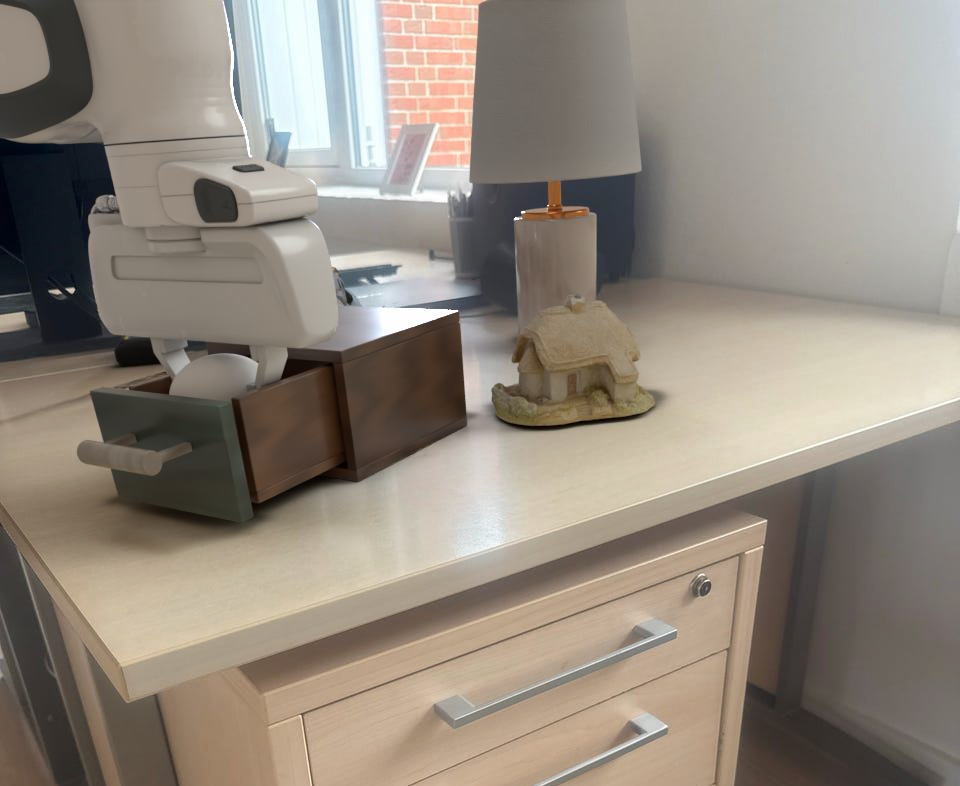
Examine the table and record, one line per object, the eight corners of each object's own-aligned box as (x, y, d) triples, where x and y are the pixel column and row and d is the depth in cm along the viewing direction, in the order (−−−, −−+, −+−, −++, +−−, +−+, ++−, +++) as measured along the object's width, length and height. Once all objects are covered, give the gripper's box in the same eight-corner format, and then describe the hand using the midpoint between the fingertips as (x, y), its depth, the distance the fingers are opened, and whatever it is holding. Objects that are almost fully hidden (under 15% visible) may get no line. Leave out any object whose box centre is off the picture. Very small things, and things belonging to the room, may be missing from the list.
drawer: (193, 547, 58) (165, 425, 54) (68, 518, 64) (34, 406, 60) (373, 457, 72) (360, 355, 68) (256, 441, 78) (238, 346, 74)
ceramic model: (604, 386, 90) (604, 278, 85) (674, 410, 81) (680, 291, 76) (478, 411, 85) (470, 299, 80) (538, 440, 76) (534, 315, 71)
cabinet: (358, 481, 70) (340, 351, 65) (229, 461, 76) (204, 341, 71) (467, 425, 81) (459, 310, 76) (347, 411, 88) (332, 305, 83)
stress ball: (273, 460, 71) (246, 381, 72) (300, 419, 64) (270, 332, 65) (177, 478, 68) (149, 395, 68) (195, 437, 61) (164, 345, 61)
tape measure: (117, 375, 109) (109, 343, 107) (129, 362, 115) (121, 332, 113) (175, 369, 109) (168, 337, 107) (184, 357, 115) (177, 327, 113)
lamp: (639, 324, 115) (647, 0, 99) (635, 358, 99) (643, -23, 82) (493, 329, 119) (476, 16, 102) (466, 363, 103) (441, -2, 86)
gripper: (46, 199, 62) (100, 402, 69) (267, 192, 52) (305, 428, 59) (120, 191, 66) (164, 382, 73) (337, 183, 57) (364, 403, 63)
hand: (228, 403), depth 66 cm, fingers closed on stress ball, 6 cm apart
